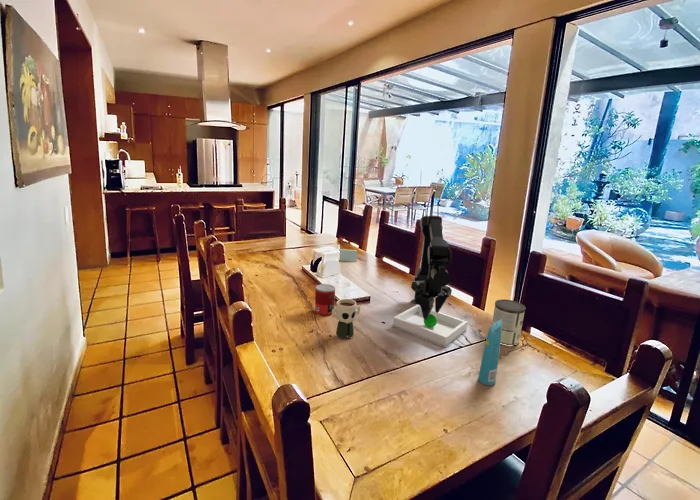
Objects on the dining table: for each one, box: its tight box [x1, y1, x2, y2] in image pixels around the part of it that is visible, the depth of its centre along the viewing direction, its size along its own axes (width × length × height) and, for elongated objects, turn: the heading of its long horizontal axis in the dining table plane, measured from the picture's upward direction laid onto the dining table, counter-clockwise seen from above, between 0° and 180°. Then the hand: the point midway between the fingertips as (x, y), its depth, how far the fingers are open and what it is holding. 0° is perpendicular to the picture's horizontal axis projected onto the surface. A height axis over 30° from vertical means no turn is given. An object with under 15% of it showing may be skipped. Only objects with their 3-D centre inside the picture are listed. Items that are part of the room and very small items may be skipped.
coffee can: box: [491, 298, 526, 345], centre depth 136 cm, size 10×10×14 cm
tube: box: [477, 320, 502, 386], centre depth 109 cm, size 7×5×19 cm, turn 140°
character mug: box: [331, 298, 361, 340], centre depth 132 cm, size 11×7×13 cm, turn 115°
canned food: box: [314, 283, 336, 317], centre depth 151 cm, size 8×8×11 cm
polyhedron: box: [424, 314, 437, 327], centre depth 142 cm, size 5×5×5 cm
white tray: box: [392, 304, 468, 349], centre depth 142 cm, size 18×22×4 cm
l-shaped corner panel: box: [337, 244, 358, 263], centre depth 229 cm, size 12×12×8 cm
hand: (431, 315), depth 141 cm, fingers open, 9 cm apart
